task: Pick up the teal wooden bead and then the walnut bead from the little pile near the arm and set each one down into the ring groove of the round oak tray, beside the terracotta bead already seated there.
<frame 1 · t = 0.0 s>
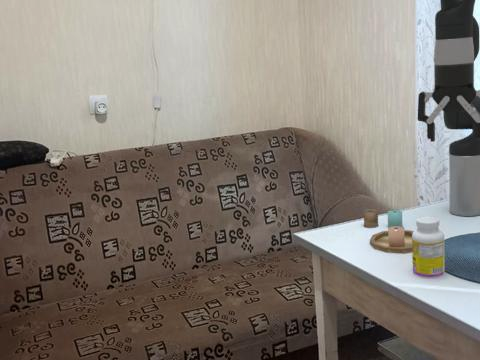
hand: (454, 140, 122), 29 cm above the table, tool pointing down, fingers open, 8 cm apart
bead c: (396, 247, 143), point 1 cm above the table, touching tray
bead b: (371, 228, 161), on the table
supplement bottle: (428, 276, 128), on the table
tray: (399, 246, 146), on the table
bead a: (395, 229, 159), on the table
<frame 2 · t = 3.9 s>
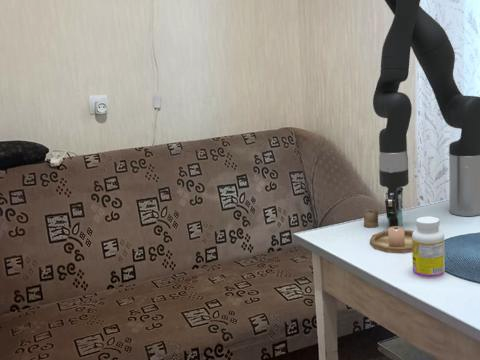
hand: (395, 228, 159), 0 cm above the table, tool pointing down, fingers closed on bead a, 3 cm apart
bead a: (395, 229, 159), on the table, touching gripper
everything else where it was.
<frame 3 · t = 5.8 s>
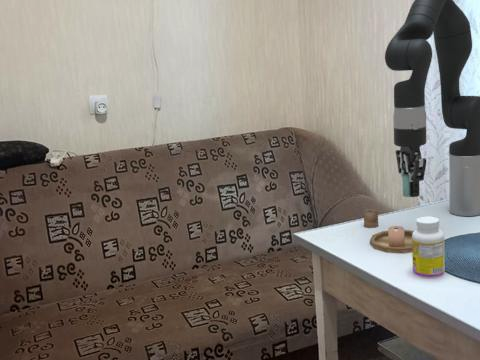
hand: (411, 194, 144), 13 cm above the table, tool pointing down, fingers closed on bead a, 3 cm apart
bead a: (410, 195, 144), point 13 cm above the table, touching gripper
everything else where it was.
when the fingers open (3 cm above the table, at t = 8.0 s): bead a drops 2 cm, resting on tray.
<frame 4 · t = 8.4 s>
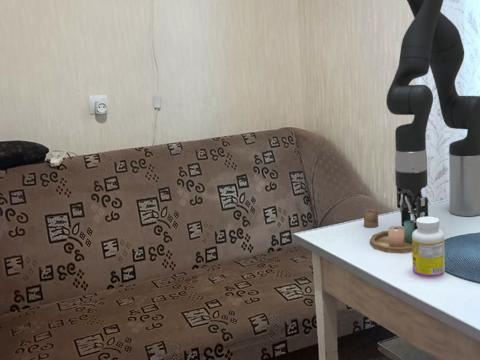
hand: (412, 231, 146), 3 cm above the table, tool pointing down, fingers open, 7 cm apart
bead a: (412, 241, 147), point 1 cm above the table, touching tray
everything else where it was.
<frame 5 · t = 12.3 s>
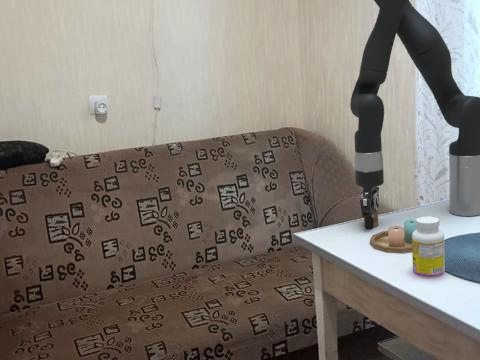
hand: (371, 227, 161), 0 cm above the table, tool pointing down, fingers closed on bead b, 3 cm apart
bead b: (371, 228, 161), on the table, touching gripper
everything else where it was.
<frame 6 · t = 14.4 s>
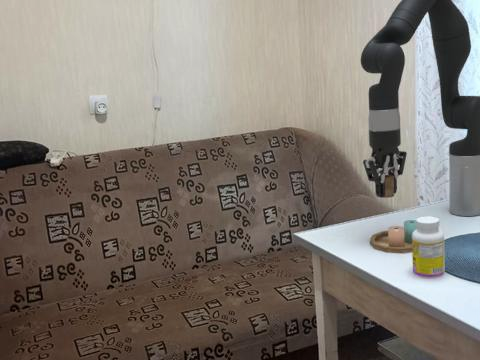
hand: (386, 194, 146), 13 cm above the table, tool pointing down, fingers closed on bead b, 3 cm apart
bead b: (386, 195, 146), point 13 cm above the table, touching gripper
everything else where it was.
when the fingers open (3 cm above the table, at t = 16.5 s): bead b drops 2 cm, resting on tray.
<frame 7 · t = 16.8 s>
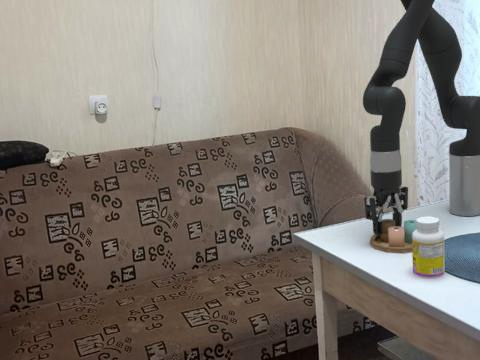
hand: (387, 230, 149), 3 cm above the table, tool pointing down, fingers open, 6 cm apart
bead b: (387, 240, 149), point 1 cm above the table, touching tray
everything else where it was.
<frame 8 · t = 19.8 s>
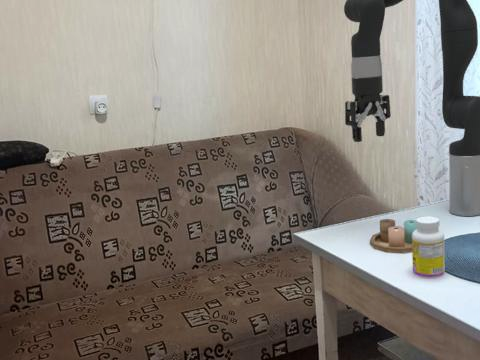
hand: (369, 138, 150), 26 cm above the table, tool pointing down, fingers open, 8 cm apart
nothing on the table moved.
at the end: bead a 0.6 cm from the target spot on the tray, point 0.8 cm above the tray's base; bead b 0.4 cm from the target spot on the tray, point 0.8 cm above the tray's base; bead b tilted 0° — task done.
